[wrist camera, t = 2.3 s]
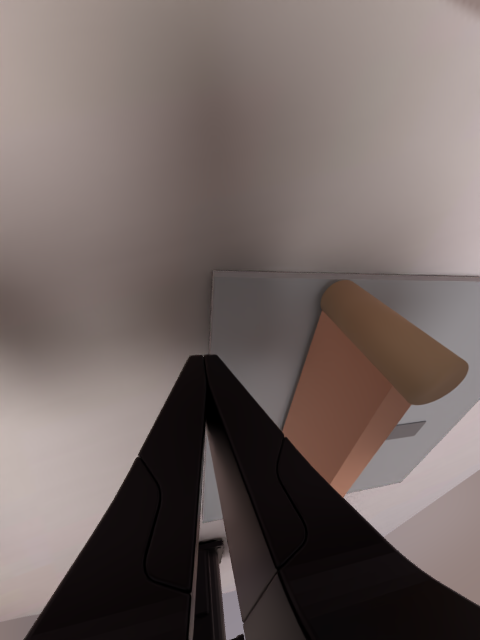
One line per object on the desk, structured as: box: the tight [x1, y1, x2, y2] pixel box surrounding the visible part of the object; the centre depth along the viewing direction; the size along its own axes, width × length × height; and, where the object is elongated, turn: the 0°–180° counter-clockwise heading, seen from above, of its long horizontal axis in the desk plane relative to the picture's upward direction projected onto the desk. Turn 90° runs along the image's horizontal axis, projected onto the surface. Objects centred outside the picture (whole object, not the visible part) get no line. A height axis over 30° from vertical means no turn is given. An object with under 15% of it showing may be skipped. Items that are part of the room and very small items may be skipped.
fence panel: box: [282, 280, 469, 497], centre depth 11 cm, size 13×2×4 cm, turn 174°
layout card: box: [202, 270, 480, 523], centre depth 17 cm, size 22×20×1 cm
